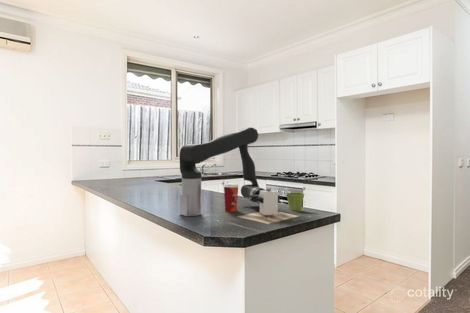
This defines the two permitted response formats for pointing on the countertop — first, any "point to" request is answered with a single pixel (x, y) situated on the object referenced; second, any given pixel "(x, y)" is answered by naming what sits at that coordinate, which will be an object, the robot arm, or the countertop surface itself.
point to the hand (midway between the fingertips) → (270, 200)
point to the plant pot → (295, 201)
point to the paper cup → (230, 196)
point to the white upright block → (269, 202)
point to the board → (267, 220)
